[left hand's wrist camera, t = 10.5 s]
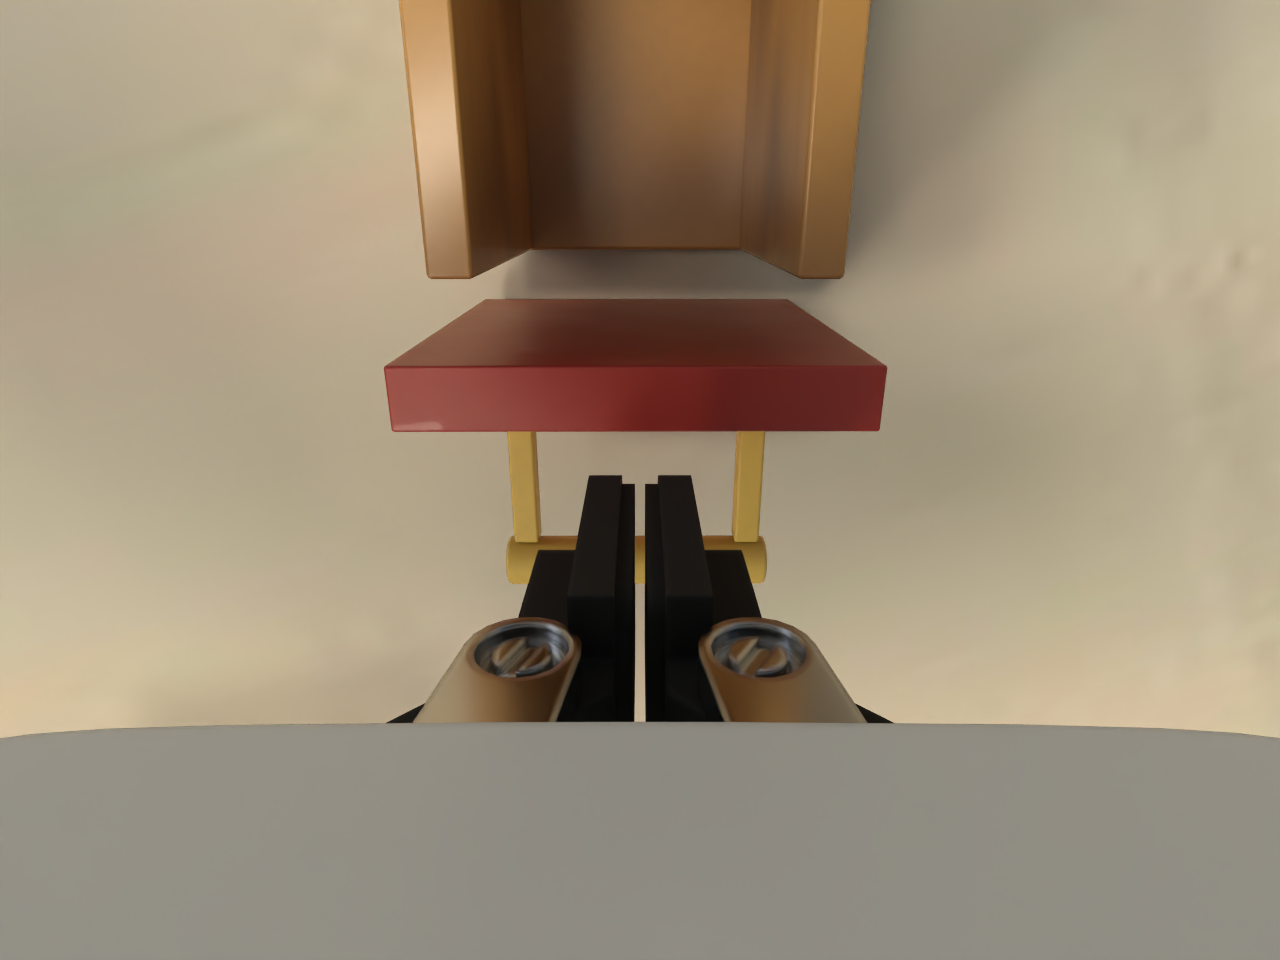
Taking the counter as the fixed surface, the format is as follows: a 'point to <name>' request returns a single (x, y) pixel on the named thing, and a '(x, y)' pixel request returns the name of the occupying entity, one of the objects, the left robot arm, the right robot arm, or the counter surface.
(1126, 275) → the counter surface
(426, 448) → the counter surface
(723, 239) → the drawer
